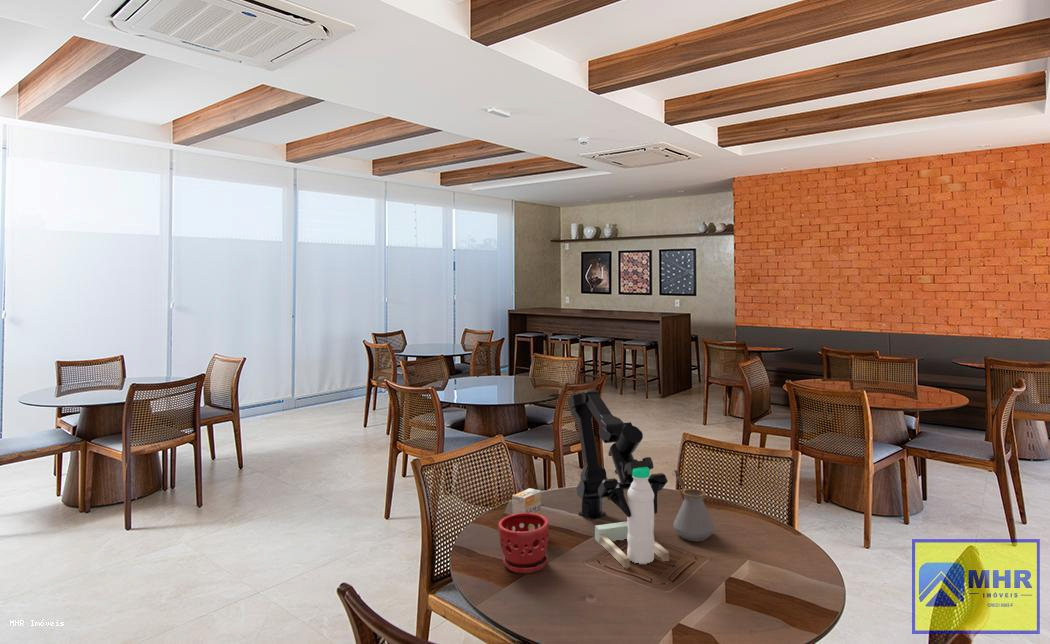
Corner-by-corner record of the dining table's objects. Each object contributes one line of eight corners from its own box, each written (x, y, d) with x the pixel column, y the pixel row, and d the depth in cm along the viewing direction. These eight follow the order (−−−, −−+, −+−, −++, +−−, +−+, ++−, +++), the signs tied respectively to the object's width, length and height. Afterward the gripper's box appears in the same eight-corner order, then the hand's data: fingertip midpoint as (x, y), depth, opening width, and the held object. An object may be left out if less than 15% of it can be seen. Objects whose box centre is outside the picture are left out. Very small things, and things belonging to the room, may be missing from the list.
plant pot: (520, 550, 166) (520, 508, 165) (559, 563, 157) (558, 519, 157) (488, 567, 156) (488, 522, 155) (527, 583, 147) (527, 535, 147)
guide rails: (599, 543, 170) (599, 534, 169) (640, 537, 173) (640, 529, 173) (624, 568, 154) (624, 559, 154) (669, 561, 158) (669, 552, 158)
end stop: (595, 539, 172) (594, 525, 172) (635, 533, 176) (635, 520, 176) (599, 543, 170) (599, 529, 169) (640, 537, 173) (640, 524, 173)
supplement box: (525, 543, 170) (524, 498, 169) (512, 539, 173) (511, 494, 172) (542, 533, 177) (541, 490, 176) (529, 529, 180) (528, 487, 179)
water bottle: (654, 566, 155) (654, 471, 154) (626, 564, 157) (626, 470, 155) (654, 554, 162) (654, 463, 161) (627, 552, 164) (627, 462, 162)
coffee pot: (721, 543, 169) (721, 490, 168) (681, 545, 168) (682, 492, 167) (692, 514, 190) (692, 468, 189) (657, 516, 189) (657, 469, 188)
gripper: (601, 450, 159) (620, 505, 149) (664, 444, 164) (686, 496, 154) (590, 470, 167) (607, 524, 157) (650, 464, 172) (670, 515, 162)
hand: (643, 514), depth 157 cm, fingers open, 7 cm apart
